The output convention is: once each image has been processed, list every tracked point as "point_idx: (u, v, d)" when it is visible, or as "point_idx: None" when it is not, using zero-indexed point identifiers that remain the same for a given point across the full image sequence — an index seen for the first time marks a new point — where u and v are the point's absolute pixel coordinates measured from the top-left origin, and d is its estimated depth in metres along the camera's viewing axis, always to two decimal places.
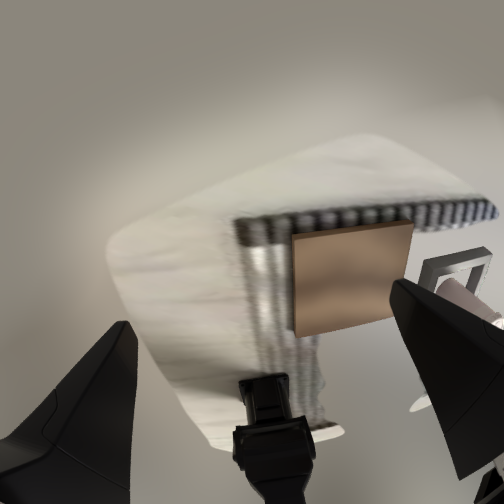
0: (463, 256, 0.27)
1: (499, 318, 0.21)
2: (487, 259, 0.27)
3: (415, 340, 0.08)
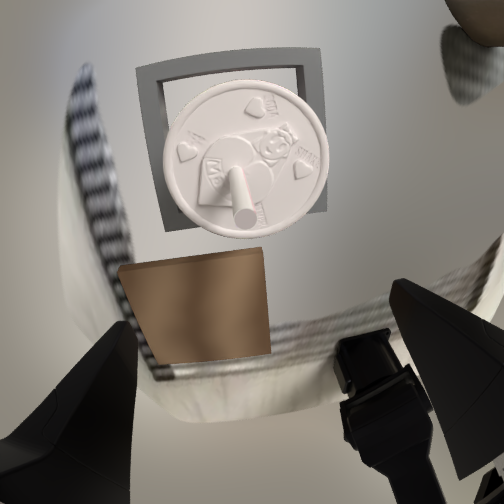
0: None
1: (164, 160, 0.10)
2: (146, 79, 0.14)
3: (415, 340, 0.08)
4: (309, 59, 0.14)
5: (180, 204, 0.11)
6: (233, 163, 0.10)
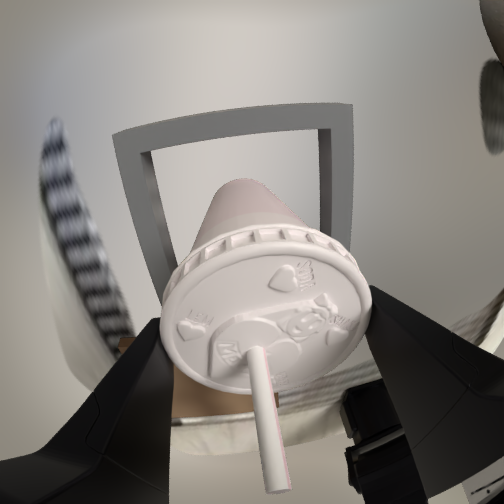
0: None
1: (163, 337, 0.08)
2: (127, 151, 0.12)
3: (381, 351, 0.08)
4: (338, 120, 0.12)
5: (188, 373, 0.09)
6: (252, 346, 0.08)
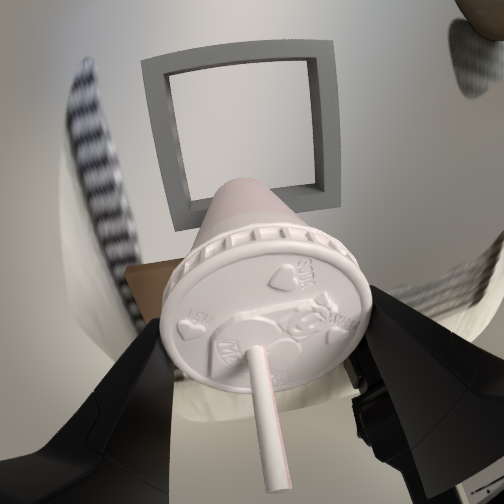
0: None
1: (163, 337, 0.08)
2: (153, 72, 0.13)
3: (381, 351, 0.08)
4: (322, 52, 0.14)
5: (189, 372, 0.09)
6: (252, 345, 0.08)
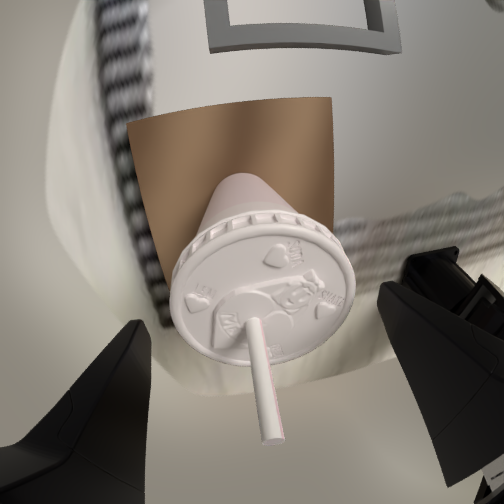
0: None
1: (172, 310, 0.09)
2: None
3: (402, 344, 0.08)
4: None
5: (193, 344, 0.10)
6: (250, 316, 0.09)
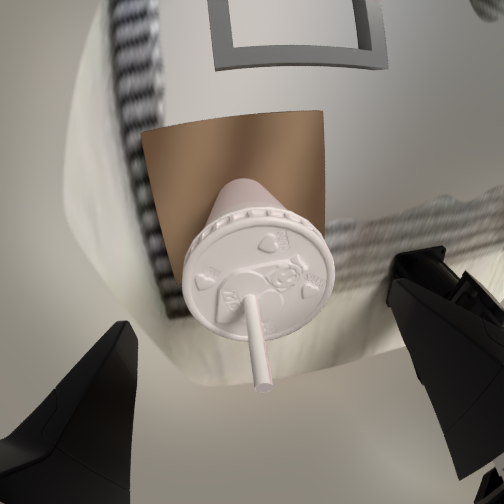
0: None
1: (184, 288, 0.11)
2: None
3: (415, 340, 0.08)
4: None
5: (200, 319, 0.12)
6: (247, 293, 0.11)
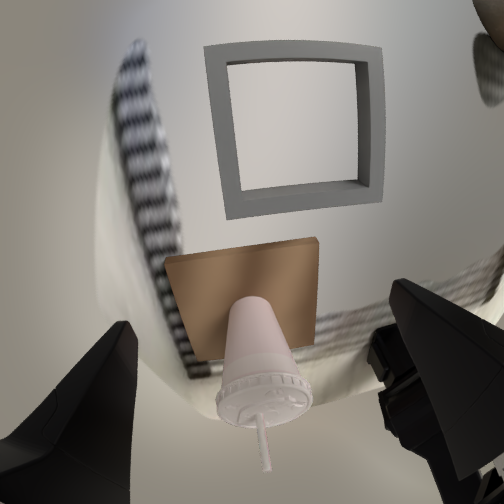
0: None
1: (218, 411, 0.16)
2: (216, 59, 0.14)
3: (415, 340, 0.08)
4: (372, 57, 0.14)
5: (227, 421, 0.17)
6: (257, 413, 0.16)
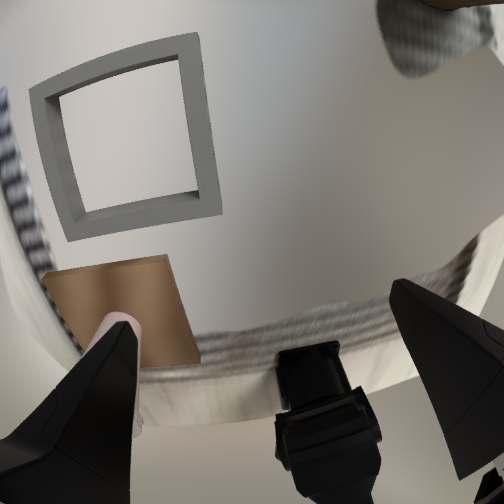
0: None
1: None
2: (37, 98, 0.12)
3: (415, 340, 0.08)
4: (184, 46, 0.12)
5: None
6: None
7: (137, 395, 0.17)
